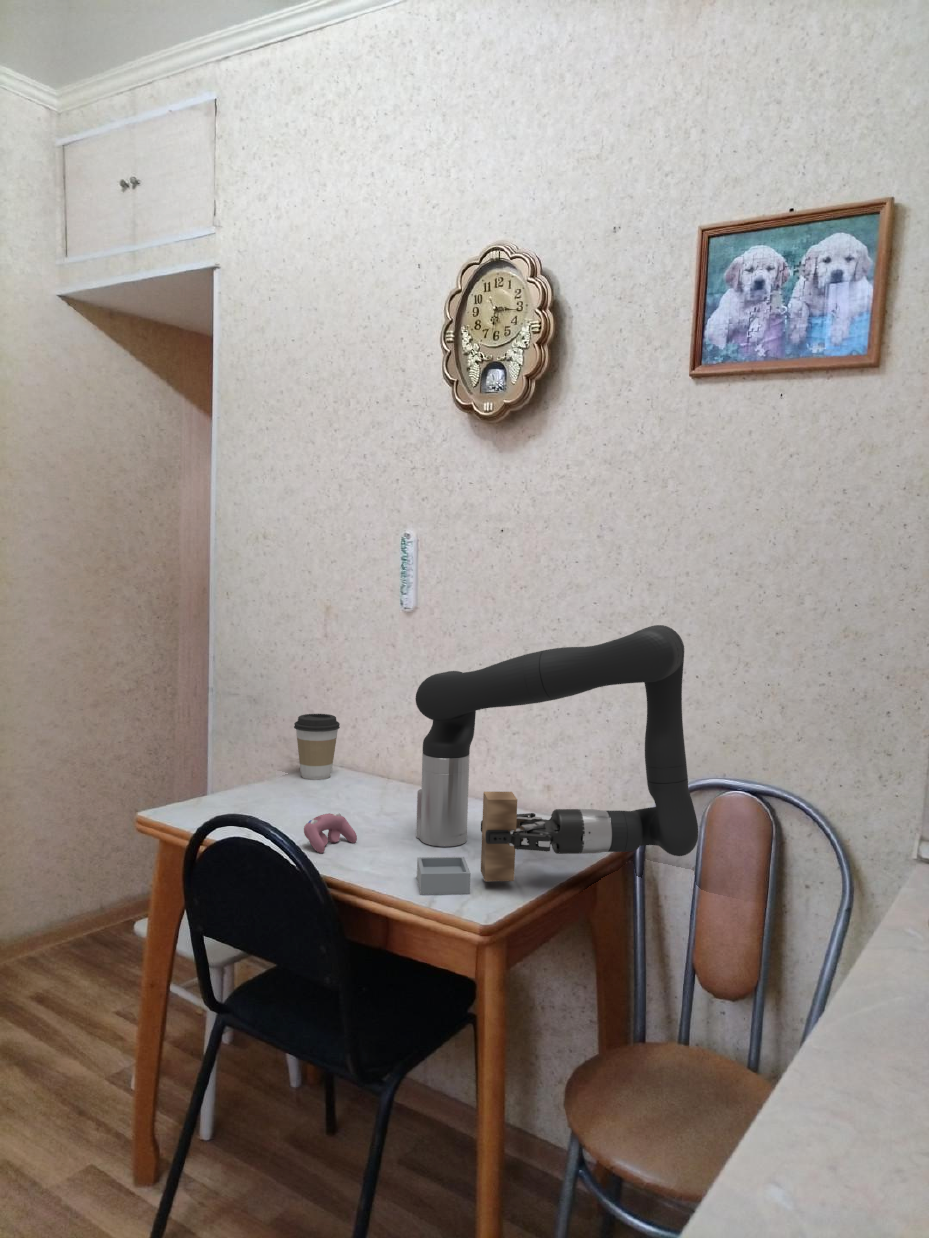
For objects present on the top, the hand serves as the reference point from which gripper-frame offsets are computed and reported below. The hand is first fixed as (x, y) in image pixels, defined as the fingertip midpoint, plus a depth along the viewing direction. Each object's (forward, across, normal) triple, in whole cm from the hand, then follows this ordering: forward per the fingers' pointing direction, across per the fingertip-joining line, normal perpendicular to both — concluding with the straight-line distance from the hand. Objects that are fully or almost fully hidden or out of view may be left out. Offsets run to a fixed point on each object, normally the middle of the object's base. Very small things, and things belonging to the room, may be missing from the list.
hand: (483, 831), depth 154 cm
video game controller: (+26, -22, +10) cm, 35 cm away
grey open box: (+7, 0, +9) cm, 11 cm away
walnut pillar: (-3, 0, +8) cm, 8 cm away
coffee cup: (+31, -75, +10) cm, 82 cm away
